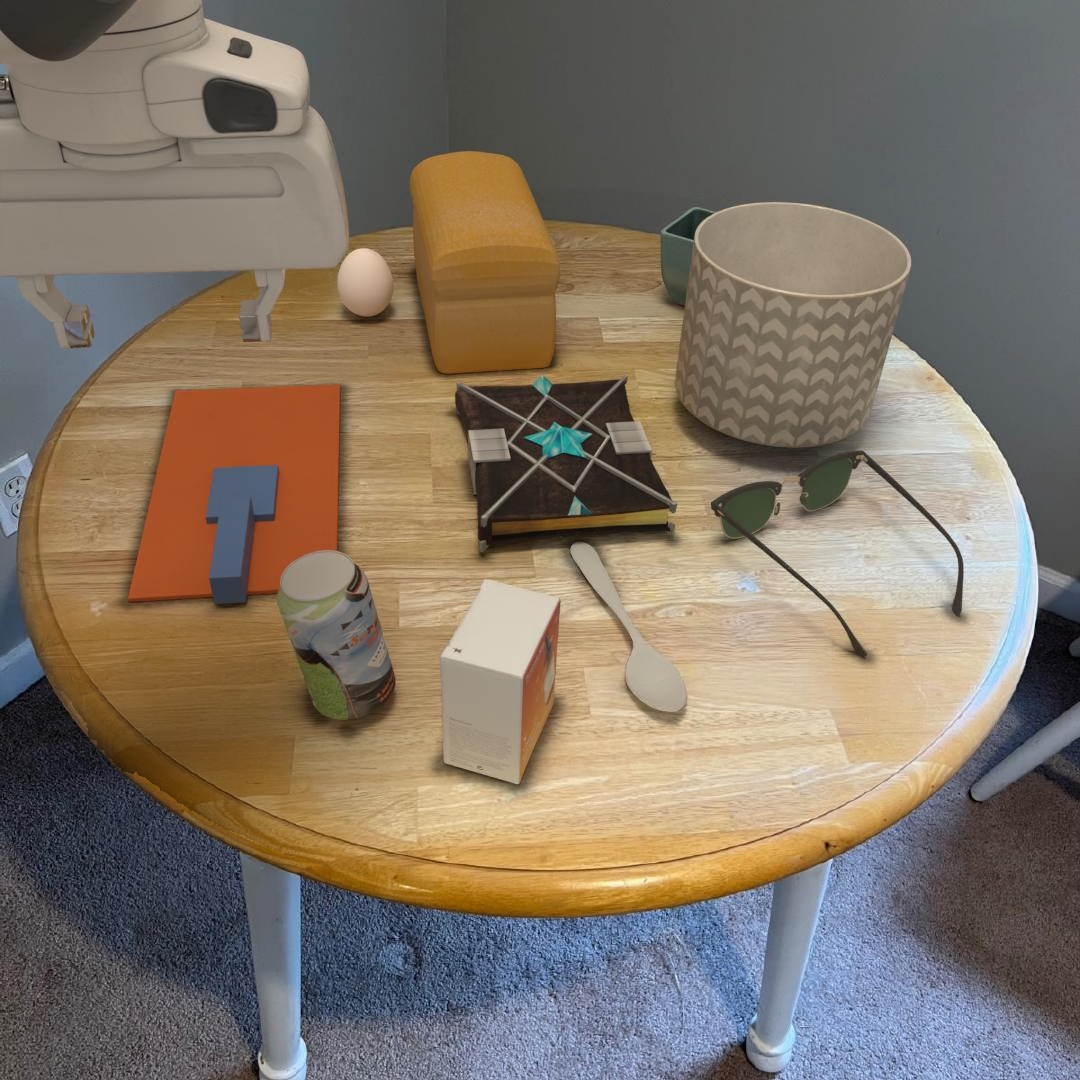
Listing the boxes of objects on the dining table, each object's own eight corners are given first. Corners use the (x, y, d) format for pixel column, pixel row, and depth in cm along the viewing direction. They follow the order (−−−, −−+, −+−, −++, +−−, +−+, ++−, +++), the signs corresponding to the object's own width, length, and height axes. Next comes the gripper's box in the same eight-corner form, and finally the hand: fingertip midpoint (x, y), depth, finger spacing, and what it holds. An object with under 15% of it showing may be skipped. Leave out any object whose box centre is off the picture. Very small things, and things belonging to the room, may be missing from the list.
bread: (557, 368, 114) (564, 232, 104) (433, 375, 112) (429, 238, 102) (518, 263, 132) (522, 139, 123) (412, 268, 130) (407, 142, 121)
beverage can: (391, 732, 76) (381, 607, 68) (285, 728, 76) (263, 603, 68) (401, 666, 81) (392, 542, 73) (301, 662, 81) (282, 538, 73)
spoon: (646, 730, 77) (648, 715, 76) (553, 547, 92) (554, 532, 91) (699, 718, 78) (703, 702, 77) (600, 539, 93) (601, 524, 92)
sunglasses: (832, 673, 82) (847, 625, 79) (700, 543, 93) (708, 496, 90) (988, 603, 88) (1007, 557, 85) (847, 489, 100) (859, 444, 96)
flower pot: (752, 297, 128) (765, 224, 122) (720, 327, 122) (732, 252, 116) (684, 277, 131) (694, 205, 125) (650, 305, 125) (658, 231, 119)
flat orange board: (336, 589, 87) (336, 585, 87) (128, 602, 85) (127, 598, 85) (340, 387, 110) (340, 384, 109) (176, 393, 108) (175, 390, 108)
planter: (758, 497, 98) (796, 316, 87) (633, 397, 110) (651, 226, 99) (905, 437, 106) (958, 265, 95) (774, 350, 118) (806, 187, 107)
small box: (519, 788, 73) (523, 680, 66) (441, 764, 74) (437, 656, 67) (556, 702, 79) (563, 595, 72) (483, 682, 80) (484, 575, 73)
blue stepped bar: (267, 601, 85) (262, 574, 83) (192, 605, 84) (186, 579, 83) (279, 471, 98) (275, 446, 96) (215, 474, 97) (210, 448, 96)
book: (455, 413, 107) (454, 368, 104) (623, 404, 109) (627, 360, 106) (478, 554, 90) (478, 505, 87) (676, 540, 93) (683, 492, 89)
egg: (335, 304, 123) (329, 240, 118) (389, 298, 124) (385, 235, 119) (345, 330, 118) (339, 265, 114) (400, 323, 120) (396, 259, 115)
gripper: (-152, 99, 47) (-50, 378, 56) (334, 96, 49) (357, 363, 58) (-105, 54, 51) (-18, 317, 60) (336, 53, 54) (357, 306, 63)
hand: (169, 340), depth 59 cm, fingers open, 8 cm apart
